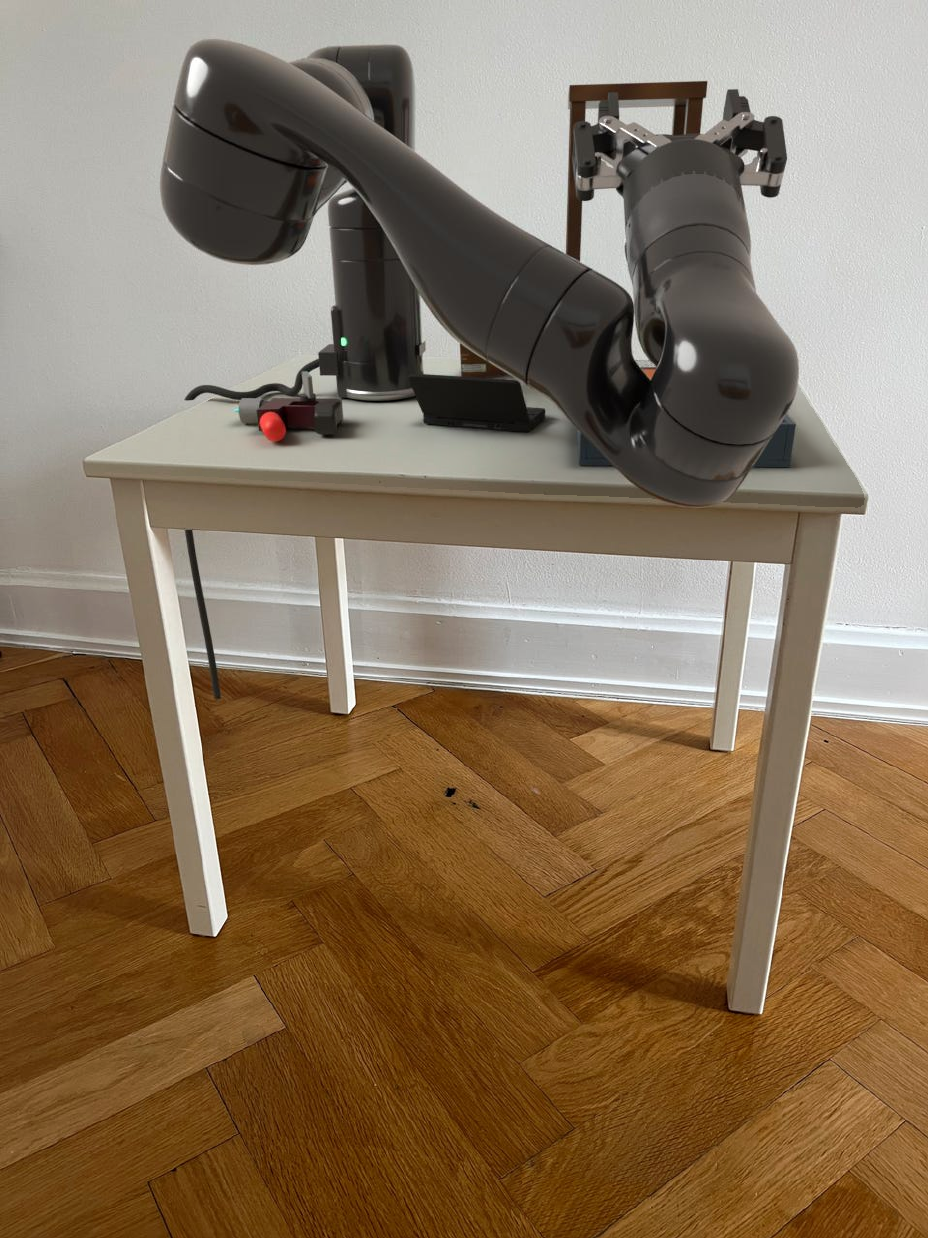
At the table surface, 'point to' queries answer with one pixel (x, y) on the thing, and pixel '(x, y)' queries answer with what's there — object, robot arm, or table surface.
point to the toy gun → (292, 412)
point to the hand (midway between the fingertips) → (670, 103)
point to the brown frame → (630, 95)
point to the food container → (476, 365)
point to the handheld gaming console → (474, 402)
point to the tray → (771, 456)
